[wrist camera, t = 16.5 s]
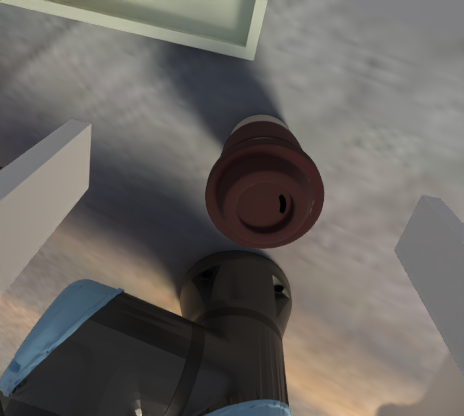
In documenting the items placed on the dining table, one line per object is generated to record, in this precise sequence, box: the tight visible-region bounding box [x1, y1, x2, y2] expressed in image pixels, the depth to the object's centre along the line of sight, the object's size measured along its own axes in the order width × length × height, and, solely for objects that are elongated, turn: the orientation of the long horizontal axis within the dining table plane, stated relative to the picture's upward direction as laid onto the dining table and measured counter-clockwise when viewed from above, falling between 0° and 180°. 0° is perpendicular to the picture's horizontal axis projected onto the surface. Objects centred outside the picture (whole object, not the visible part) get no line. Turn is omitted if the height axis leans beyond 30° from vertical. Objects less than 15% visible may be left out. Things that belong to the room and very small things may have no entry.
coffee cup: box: [205, 115, 324, 249], centre depth 38 cm, size 10×10×15 cm
